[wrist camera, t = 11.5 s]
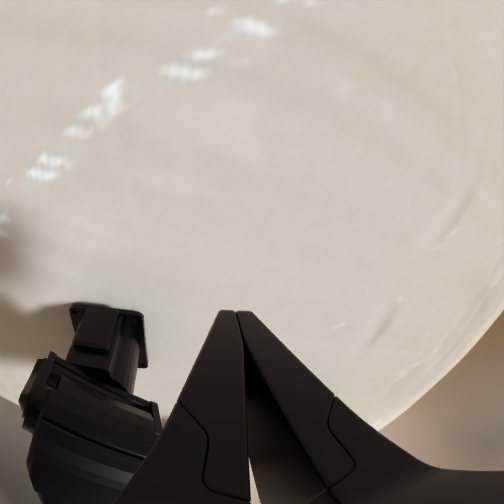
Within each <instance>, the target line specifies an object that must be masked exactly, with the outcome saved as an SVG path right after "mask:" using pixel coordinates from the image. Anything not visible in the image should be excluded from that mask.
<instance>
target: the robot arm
mask: <svg viewBox="0 0 504 504" xmlns="http://www.w3.org/2000/svg"><path fill="white" fill-rule="evenodd" d="M75 310H76V311H75ZM69 311H70V316H71V319H72V323H73V327H74V331H75V336H74V338H73V340H72V344H71V347H70V349H69V352H68V354H67V357H66V360H63V359H61V358H60V357H58V356H57V354H55V353H54V352H52V351H51V352H50V354H49V356H48V358H44V359H38V360H37V362H36V364H35V366H34V369H33V371H32V373H31V375H30V377H29V379H28V381H27V383H26V385H25V387H24V389H23V391H22V393H21V395H20V398H19V401H18V402H19V404H20V406H21V409H22V411H23V415H22V417H23V418H24V422H23V427H22V429H24V430H26V431H28V432H30V433H32V438H31V442H30V446H29V450H28V456H27V463H26V464H27V468H28V471H29V475H30V479H31V482H32V485H33V488H34V490H35V492H37V493H38V496H39V498H40V500H41V504H251V503H250V501H251V495H250V477H249V459H250V464H251V468H252V472H253V476H254V480H255V483H256V488H257V491H258V495H259V499H260V503H261V504H504V471H467V470H451V469H442V468H437V467H434V466H431V465H428V464H426V463H424V462H422V461H420V460H418V459H416V458H415V457H414V456H412V455H411V454H409V453H407V452H406V451H405V450H403V449H402V448H400V447H399V446H398V445H396V444H395V443H393V442H392V441H390V440H389V439H388V438H386V437H385V436H383V435H382V434H380V433H379V432H378V431H377V430H375V429H374V428H373V427H371V426H370V425H369V424H367V423H366V422H365V421H364V420H362V419H361V418H360V417H359V416H358V415H357V414H356V413H354V412H353V411H352V410H351V409H350V408H349V407H348V406H346V405H345V404H344V403H343V402H342V401H341V400H340V399H339V398H338V397H337V396H335V397H334V393H333V392H332V391H331V390H329V389H328V388H327V387H326V386H325V385H324V384H323V383H322V382H321V381H320V380H319V379H318V378H317V377H316V376H315V375H314V374H313V373H312V372H311V371H310V370H309V369H308V368H307V367H306V366H305V365H304V364H303V363H302V362H301V361H300V360H299V359H298V358H297V357H296V356H295V355H294V354H293V353H292V352H291V351H290V350H289V349H288V348H287V347H286V346H285V345H284V344H283V343H282V342H281V341H280V340H279V339H278V338H277V337H276V336H275V335H274V334H273V333H272V332H271V331H270V330H269V329H268V328H267V327H266V326H265V325H264V324H263V323H262V322H261V321H260V320H259V319H258V318H257V316H256V315H255V314H254V313H253V312H251V311H236V313H235V311H233V310H220V311H219V312H218V314H217V316H216V318H215V321H214V323H213V325H212V327H211V329H210V331H209V333H208V335H207V338H206V340H205V342H204V344H203V346H202V348H201V350H200V353H199V355H198V357H197V359H196V361H195V363H194V365H193V368H192V370H191V372H190V374H189V376H188V378H187V380H186V383H185V385H184V387H183V389H182V391H181V393H180V395H179V398H178V400H177V403H176V404H175V406H174V408H173V410H172V412H171V414H170V416H169V418H168V420H167V422H166V424H165V426H164V428H163V430H162V425H161V420H160V415H159V409H158V404H157V403H155V402H152V401H150V402H149V401H147V400H144V399H142V398H139V397H137V396H135V395H133V392H134V385H135V379H136V373H137V368H147V367H148V357H147V348H146V338H145V326H144V316H143V315H142V314H141V313H140V312H134V311H124V310H115V309H107V308H99V307H91V306H84V305H77V304H73V305H72V306H71V307H70V309H69ZM136 317H137V318H139V319H136ZM248 455H249V456H248Z"/></svg>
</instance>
